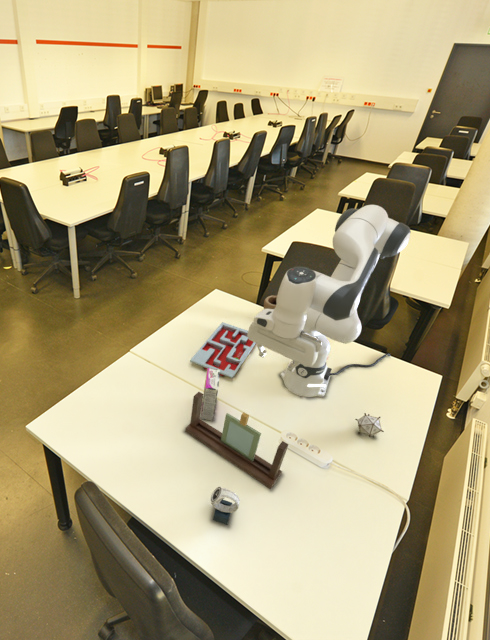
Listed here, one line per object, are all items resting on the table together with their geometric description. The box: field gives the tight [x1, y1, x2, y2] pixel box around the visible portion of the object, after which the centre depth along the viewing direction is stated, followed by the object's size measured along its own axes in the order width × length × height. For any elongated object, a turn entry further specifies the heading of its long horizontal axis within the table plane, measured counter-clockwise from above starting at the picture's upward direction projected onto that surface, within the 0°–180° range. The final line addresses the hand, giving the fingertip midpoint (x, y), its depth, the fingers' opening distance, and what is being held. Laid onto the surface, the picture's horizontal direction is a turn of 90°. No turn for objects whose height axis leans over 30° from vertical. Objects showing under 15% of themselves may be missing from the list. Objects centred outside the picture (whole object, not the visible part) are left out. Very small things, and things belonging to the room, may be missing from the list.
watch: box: [210, 486, 240, 526], centre depth 113 cm, size 6×8×11 cm
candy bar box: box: [200, 368, 221, 422], centre depth 145 cm, size 11×5×16 cm, turn 168°
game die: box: [355, 412, 384, 438], centre depth 140 cm, size 9×8×10 cm
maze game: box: [189, 321, 257, 379], centre depth 178 cm, size 35×20×3 cm, turn 148°
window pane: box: [221, 411, 262, 462], centre depth 127 cm, size 1×12×18 cm, turn 48°
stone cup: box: [263, 294, 277, 310], centre depth 194 cm, size 15×12×15 cm
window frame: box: [184, 391, 289, 490], centre depth 129 cm, size 7×34×17 cm, turn 48°
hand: (276, 362), depth 116 cm, fingers open, 8 cm apart
